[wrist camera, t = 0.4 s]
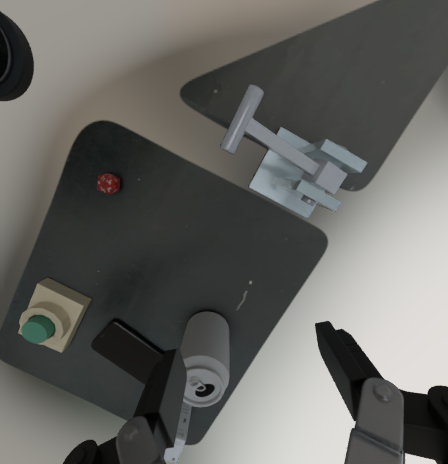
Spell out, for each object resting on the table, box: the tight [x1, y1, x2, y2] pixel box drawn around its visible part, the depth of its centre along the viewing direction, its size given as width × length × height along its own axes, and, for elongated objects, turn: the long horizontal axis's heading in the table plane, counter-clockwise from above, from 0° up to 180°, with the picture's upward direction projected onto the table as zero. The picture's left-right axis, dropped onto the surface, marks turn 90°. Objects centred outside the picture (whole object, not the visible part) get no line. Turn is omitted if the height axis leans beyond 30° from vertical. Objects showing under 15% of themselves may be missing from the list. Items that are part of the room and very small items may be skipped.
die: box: [97, 173, 120, 195], centre depth 32 cm, size 3×3×3 cm
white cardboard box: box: [164, 401, 192, 463], centre depth 41 cm, size 6×6×7 cm
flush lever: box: [220, 85, 347, 194], centre depth 20 cm, size 12×5×2 cm, turn 63°
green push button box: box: [18, 278, 91, 353], centre depth 38 cm, size 11×8×4 cm
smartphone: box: [91, 320, 164, 385], centre depth 41 cm, size 8×1×16 cm
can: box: [180, 311, 229, 407], centre depth 34 cm, size 8×8×12 cm
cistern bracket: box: [248, 127, 367, 218], centre depth 26 cm, size 10×9×13 cm
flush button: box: [21, 315, 55, 344], centre depth 35 cm, size 4×4×2 cm
